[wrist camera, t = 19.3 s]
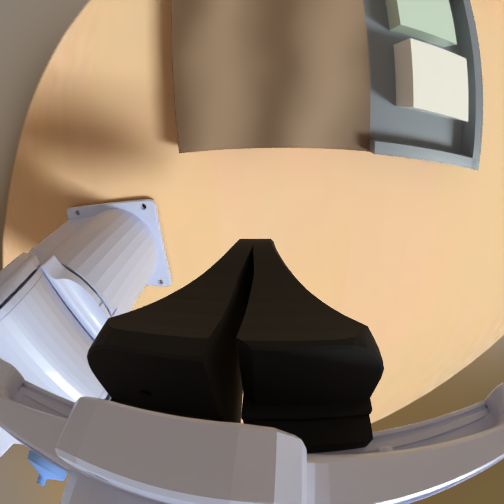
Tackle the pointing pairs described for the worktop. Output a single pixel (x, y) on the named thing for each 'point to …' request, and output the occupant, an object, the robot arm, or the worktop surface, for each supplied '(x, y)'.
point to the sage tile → (423, 20)
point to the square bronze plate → (270, 74)
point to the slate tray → (416, 122)
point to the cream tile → (431, 80)
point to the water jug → (45, 469)
